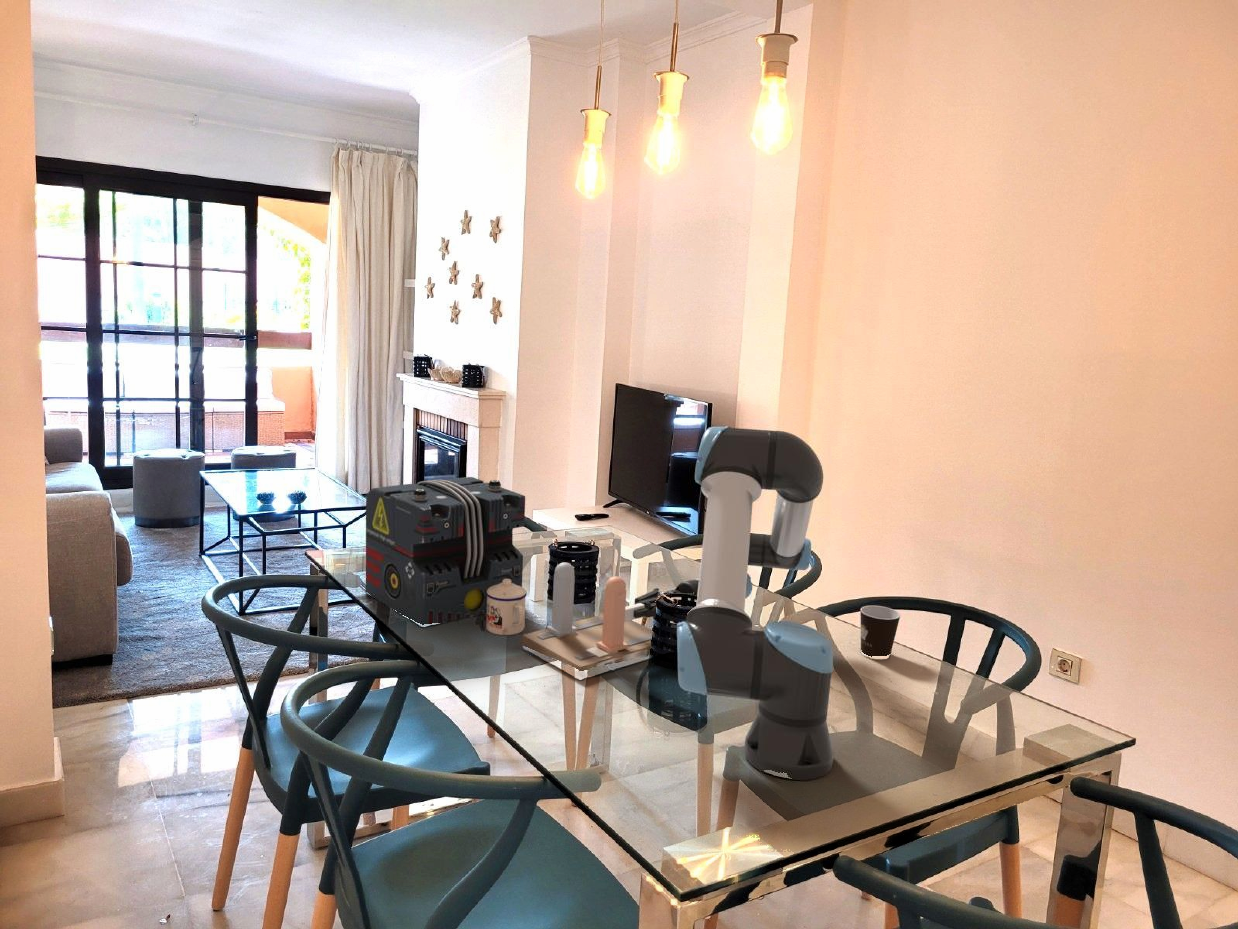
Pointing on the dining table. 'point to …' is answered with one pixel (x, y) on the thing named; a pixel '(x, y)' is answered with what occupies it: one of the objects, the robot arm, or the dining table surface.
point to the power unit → (441, 546)
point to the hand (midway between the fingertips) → (619, 615)
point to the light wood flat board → (590, 644)
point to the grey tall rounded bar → (563, 600)
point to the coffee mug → (878, 630)
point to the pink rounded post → (614, 616)
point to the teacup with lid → (505, 608)
